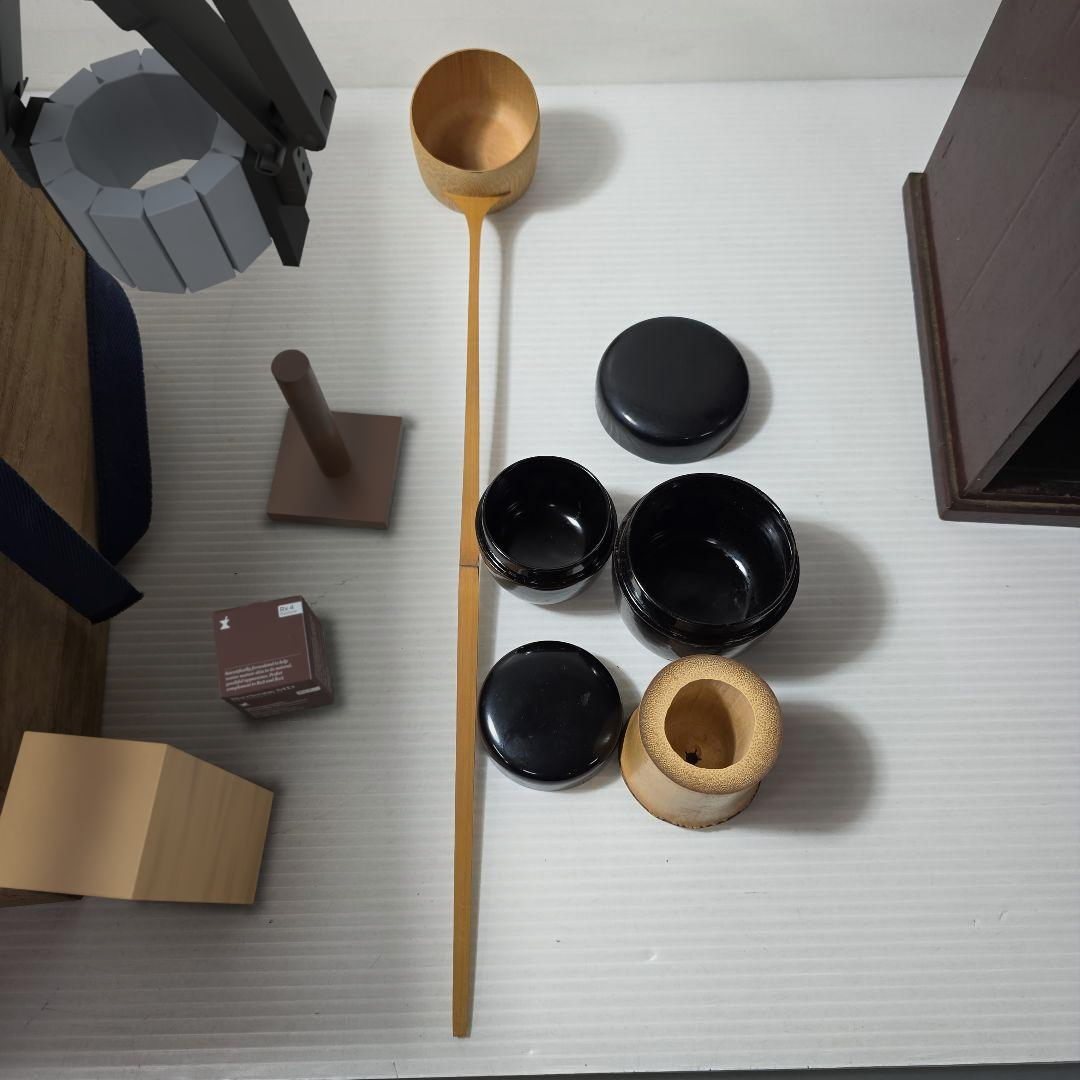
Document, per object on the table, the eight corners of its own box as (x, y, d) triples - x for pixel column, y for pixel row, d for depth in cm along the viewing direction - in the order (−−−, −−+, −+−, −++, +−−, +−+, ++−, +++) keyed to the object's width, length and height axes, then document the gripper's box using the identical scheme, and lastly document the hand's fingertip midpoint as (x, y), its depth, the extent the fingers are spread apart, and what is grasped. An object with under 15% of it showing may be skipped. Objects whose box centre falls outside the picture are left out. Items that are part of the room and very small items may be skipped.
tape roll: (64, 285, 42) (4, 207, 37) (115, 131, 45) (65, 41, 41) (260, 300, 42) (224, 223, 37) (298, 144, 45) (269, 55, 40)
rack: (271, 520, 73) (203, 423, 58) (292, 416, 76) (234, 300, 62) (387, 530, 72) (349, 434, 58) (404, 425, 76) (371, 310, 61)
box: (250, 721, 67) (216, 699, 60) (242, 640, 69) (209, 610, 62) (336, 704, 68) (312, 680, 61) (325, 623, 70) (301, 592, 63)
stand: (146, 894, 63) (-21, 885, 44) (171, 782, 66) (24, 730, 47) (253, 904, 63) (131, 900, 44) (274, 792, 65) (167, 743, 47)
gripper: (-596, -291, 23) (-50, 284, 44) (284, -245, 22) (412, 320, 43) (-449, -461, 26) (-2, 157, 47) (339, -426, 25) (434, 188, 46)
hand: (197, 235), depth 45 cm, fingers closed on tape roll, 9 cm apart
